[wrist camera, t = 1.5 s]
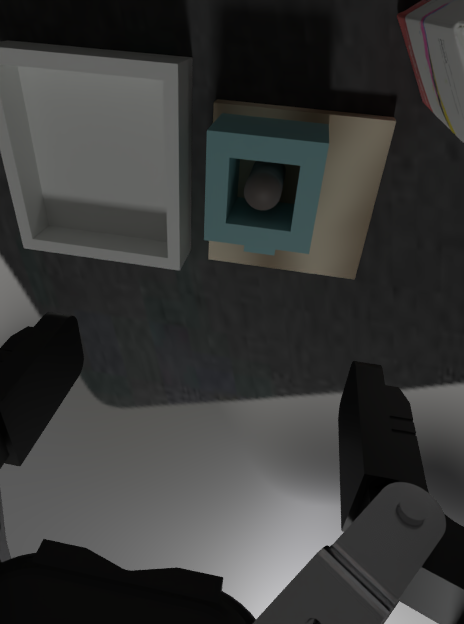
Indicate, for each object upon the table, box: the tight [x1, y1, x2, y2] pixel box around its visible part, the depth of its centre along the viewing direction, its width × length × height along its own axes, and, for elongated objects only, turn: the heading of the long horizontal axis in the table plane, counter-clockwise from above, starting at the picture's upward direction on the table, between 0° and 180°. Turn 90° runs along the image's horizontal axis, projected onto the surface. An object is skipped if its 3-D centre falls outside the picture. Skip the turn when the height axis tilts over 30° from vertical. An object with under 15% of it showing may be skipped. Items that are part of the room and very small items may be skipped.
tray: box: [0, 40, 192, 270], centre depth 28 cm, size 11×12×3 cm
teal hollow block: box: [204, 113, 329, 255], centre depth 26 cm, size 6×8×4 cm
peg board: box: [209, 99, 396, 279], centre depth 26 cm, size 10×10×4 cm
